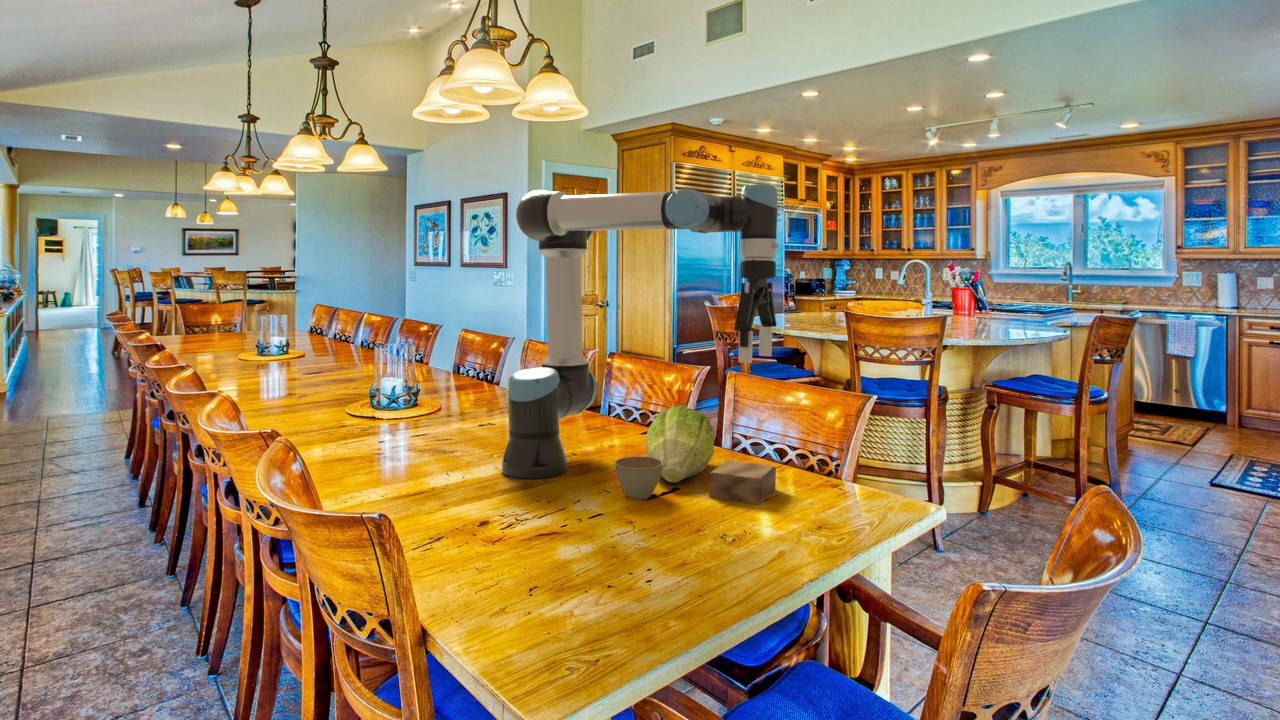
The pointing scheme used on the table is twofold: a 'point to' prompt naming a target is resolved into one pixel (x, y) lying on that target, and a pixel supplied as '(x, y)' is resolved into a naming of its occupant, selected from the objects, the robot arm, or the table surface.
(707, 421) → the lettuce
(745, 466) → the walnut block
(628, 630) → the table surface
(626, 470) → the flower pot
